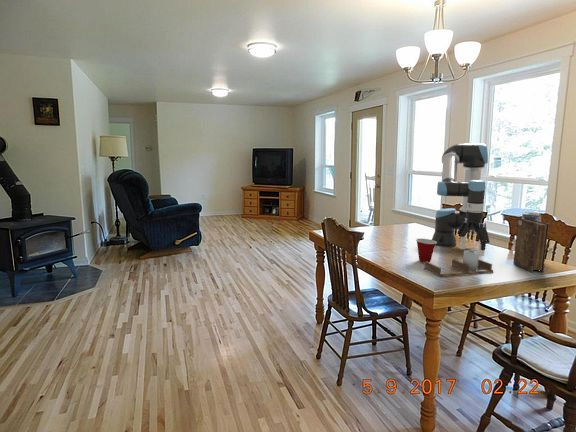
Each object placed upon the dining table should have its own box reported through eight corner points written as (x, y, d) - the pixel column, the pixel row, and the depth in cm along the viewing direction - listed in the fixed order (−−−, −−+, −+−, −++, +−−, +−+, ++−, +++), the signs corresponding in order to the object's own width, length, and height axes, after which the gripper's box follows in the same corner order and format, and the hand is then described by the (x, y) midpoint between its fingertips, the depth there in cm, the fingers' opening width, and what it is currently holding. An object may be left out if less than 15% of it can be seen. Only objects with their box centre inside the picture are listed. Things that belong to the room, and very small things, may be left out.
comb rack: (474, 264, 199) (475, 257, 198) (493, 272, 186) (493, 264, 185) (424, 269, 192) (424, 261, 191) (440, 277, 179) (440, 269, 179)
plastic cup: (438, 264, 199) (439, 242, 197) (417, 263, 201) (418, 242, 199) (432, 259, 210) (434, 238, 208) (413, 258, 211) (414, 237, 209)
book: (511, 263, 202) (516, 217, 198) (525, 263, 202) (530, 217, 197) (530, 272, 185) (535, 223, 181) (544, 272, 185) (550, 223, 181)
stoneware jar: (471, 266, 196) (472, 247, 194) (480, 270, 189) (482, 251, 188) (459, 267, 195) (461, 248, 193) (468, 271, 188) (470, 252, 186)
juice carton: (516, 259, 209) (521, 211, 205) (519, 255, 217) (524, 209, 212) (535, 262, 203) (540, 213, 199) (537, 258, 211) (542, 210, 207)
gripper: (451, 207, 198) (449, 246, 202) (486, 216, 174) (483, 259, 178) (464, 207, 200) (461, 245, 204) (500, 215, 176) (496, 258, 180)
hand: (471, 252), depth 191 cm, fingers open, 13 cm apart
